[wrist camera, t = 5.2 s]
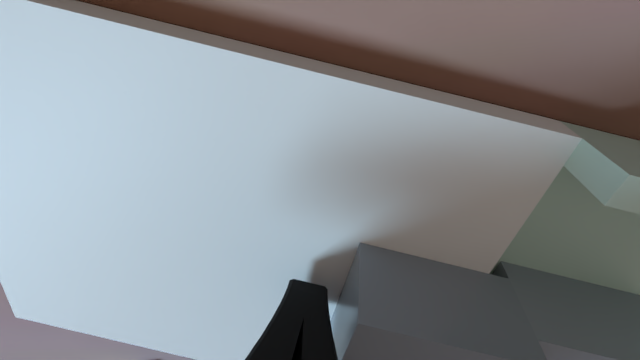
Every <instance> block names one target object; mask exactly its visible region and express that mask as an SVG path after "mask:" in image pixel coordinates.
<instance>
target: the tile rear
mask: <svg viewBox="0 0 640 360" xmlns="http://www.w3.org/2000/svg"><path fill="white" fill-rule="evenodd" d="M492 275H496V276H500V277H504V278H508V279H510V281H511V284H512V286H513V288H514V290H515V292H516V294H517V296H518V299H519V301H520V303H521V305H522V307H523V309H524V311H525V314H526V316H527V318H528V320H529V322H530V324H531V326H532V329H533V331H534V333H535V335H536V337H537V339H538V341H539V344H540V346H541V348H542V350H543V352H544V354H545V356H546V359H547V360H640V295H638V294H634V293H630V292H625V291H621V290H617V289H613V288H609V287H605V286H601V285H597V284H593V283H589V282H585V281H580V280H576V279H572V278H568V277H564V276H560V275H556V274H552V273H548V272H544V271H540V270H535V269H531V268H527V267H523V266H519V265H515V264H511V263H507V262H503V261H500V263H499V264H498V266H497V267H496V269H495V270H494V271H493V273H492Z"/></svg>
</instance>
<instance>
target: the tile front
mask: <svg viewBox="0 0 640 360" xmlns="http://www.w3.org/2000/svg"><path fill="white" fill-rule="evenodd" d="M330 322H331V328H332V334H333V339H334V343H335V348H336V353H337V357H338V360H547V359H546V356H545V354H544V352H543V350H542V348H541V346H540V344H539V341H538V339H537V337H536V335H535V333H534V331H533V329H532V326H531V324H530V322H529V320H528V318H527V316H526V314H525V311H524V309H523V307H522V305H521V303H520V301H519V299H518V296H517V294H516V292H515V290H514V288H513V286H512V284H511V281H510V279H508V278H504V277H500V276H496V275H492V274H488V273H484V272H479V271H475V270H471V269H467V268H463V267H459V266H455V265H451V264H447V263H442V262H438V261H434V260H430V259H426V258H422V257H418V256H414V255H410V254H405V253H401V252H397V251H393V250H389V249H385V248H381V247H377V246H373V245H369V244H364V243H359V246H358V248H357V251H356V254H355V257H354V259H353V262H352V265H351V267H350V270H349V273H348V275H347V278H346V281H345V283H344V286H343V289H342V291H341V294H340V297H339V299H338V302H337V305H336V307H335V310H334V313H333V315H332V318H331V321H330Z"/></svg>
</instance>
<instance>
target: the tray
mask: <svg viewBox="0 0 640 360" xmlns="http://www.w3.org/2000/svg"><path fill="white" fill-rule="evenodd" d="M560 122H562V121H560ZM562 123H563V124H564V125H565V126H567V127H568V128H569V129H571V130H572V131H573V132H575V133H576V134H577V135H578V136H580V137H581V138H582V140H581V141H580V143H579V144H578V146H577V147H576V148H575V150H574V151H573V153H572V154H571V156H570V157H569V159H568V160H567V162H566V163H565V164H564V166H563V167H562V169H561V170H560V172H559V173H558V175H557V176H556V178H555V179H554V180H553V182H552V183H551V185H550V186H549V188H548V189H547V191H546V192H545V194H544V195H543V196H542V198H541V199H540V201H539V202H538V204H537V205H536V207H535V208H534V210H533V211H532V212H531V214H530V215H529V217H528V218H527V220H526V221H525V223H524V224H523V226H522V227H521V228H520V230H519V231H518V233H517V234H516V236H515V237H514V239H513V240H512V242H511V243H510V244H509V246H508V247H507V249H506V250H505V252H504V253H503V255H502V256H501V258H500V259H499V260H498V262H497V263H496V265H495V266H494V268H493V269H492V271H491V272H490V274H492V273H493V271H494V270H495V269H496V267H497V266H498V264H499V263H500V261H503V262H507V263H511V264H515V265H519V266H523V267H527V268H531V269H535V270H540V271H544V272H548V273H552V274H556V275H560V276H564V277H568V278H572V279H576V280H580V281H585V282H589V283H593V284H597V285H601V286H605V287H609V288H613V289H617V290H621V291H625V292H630V293H634V294H638V295H640V141H639V140H635V139H631V138H627V137H623V136H619V135H615V134H610V133H606V132H602V131H598V130H594V129H590V128H586V127H582V126H578V125H574V124H570V123H566V122H562Z"/></svg>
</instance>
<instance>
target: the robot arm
mask: <svg viewBox="0 0 640 360" xmlns="http://www.w3.org/2000/svg"><path fill="white" fill-rule="evenodd" d="M245 360H338V357H337V353H336V348H335V343H334V339H333V334H332V328H331V322H330V315H329V306H328V289H327V288H326V287H325V286H322V285H318V284H313V283H309V282H305V281H301V280H296V279H292V280H289V284H288V287H287V289H286V292H285V294H284V296H283V298H282V301H281V303H280V304H279V306H278V308H277V310H276V312H275V314H274V315H273V317H272V319H271V320H270V322H269V324H268V326H267V327H266V329H265V331H264V332H263V334H262V335H261V337H260V338H259V340H258V341H257V343H256V344H255V346H254V347H253V348H252V350H251V351H250V353H249V354H248V356H247V357H246V359H245Z"/></svg>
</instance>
